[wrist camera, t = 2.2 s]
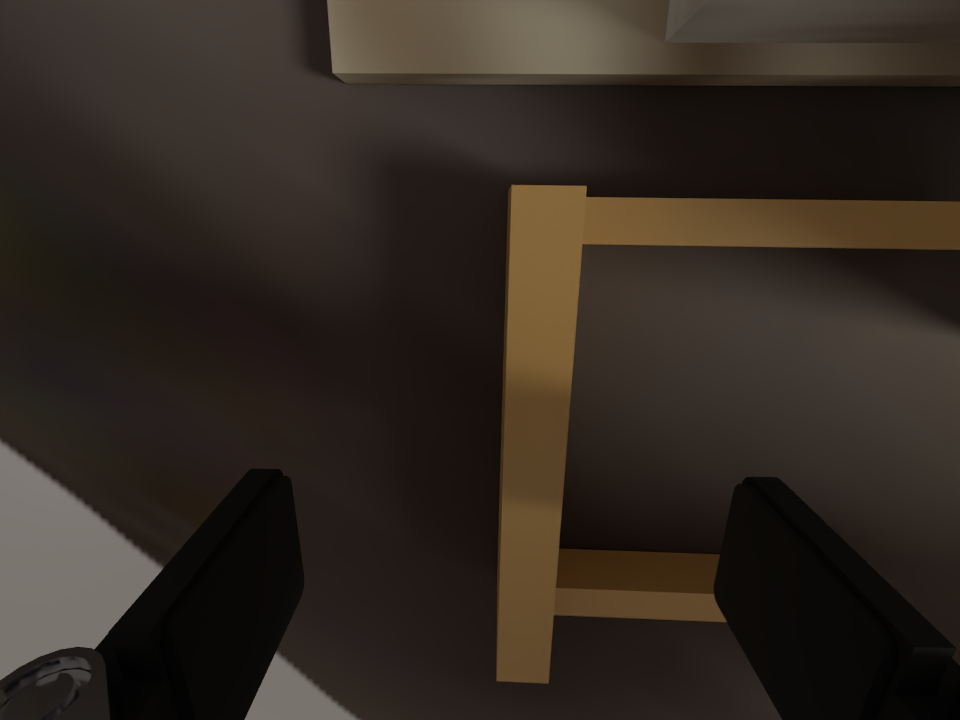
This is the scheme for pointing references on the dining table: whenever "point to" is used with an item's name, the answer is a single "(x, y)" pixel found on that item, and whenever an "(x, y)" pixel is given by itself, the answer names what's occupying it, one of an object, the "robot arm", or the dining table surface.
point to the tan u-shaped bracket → (548, 378)
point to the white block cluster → (647, 42)
